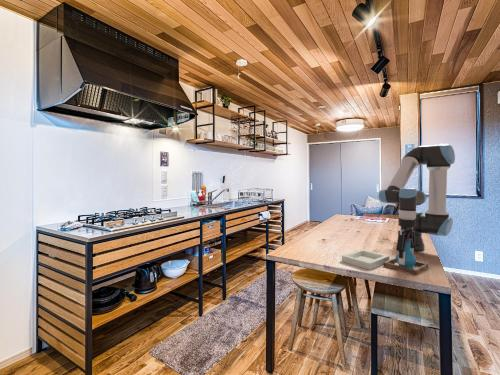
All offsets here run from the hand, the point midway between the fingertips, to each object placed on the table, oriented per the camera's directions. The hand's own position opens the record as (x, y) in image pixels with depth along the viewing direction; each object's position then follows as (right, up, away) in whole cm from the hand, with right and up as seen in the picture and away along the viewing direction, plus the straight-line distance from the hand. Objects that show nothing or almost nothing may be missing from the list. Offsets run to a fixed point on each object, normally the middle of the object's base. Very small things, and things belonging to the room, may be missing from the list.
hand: (405, 262), depth 133 cm
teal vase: (0, -3, 0) cm, 3 cm away
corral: (0, -3, 0) cm, 3 cm away
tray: (-17, -2, +9) cm, 19 cm away
